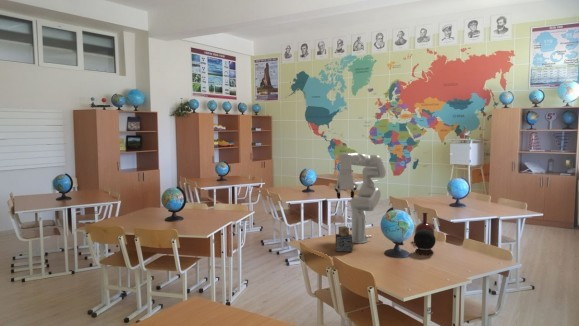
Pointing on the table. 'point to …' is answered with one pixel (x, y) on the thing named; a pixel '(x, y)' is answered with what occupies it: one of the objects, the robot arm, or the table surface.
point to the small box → (343, 243)
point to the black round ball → (424, 242)
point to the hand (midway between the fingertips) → (345, 198)
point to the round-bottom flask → (424, 225)
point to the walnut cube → (344, 231)
